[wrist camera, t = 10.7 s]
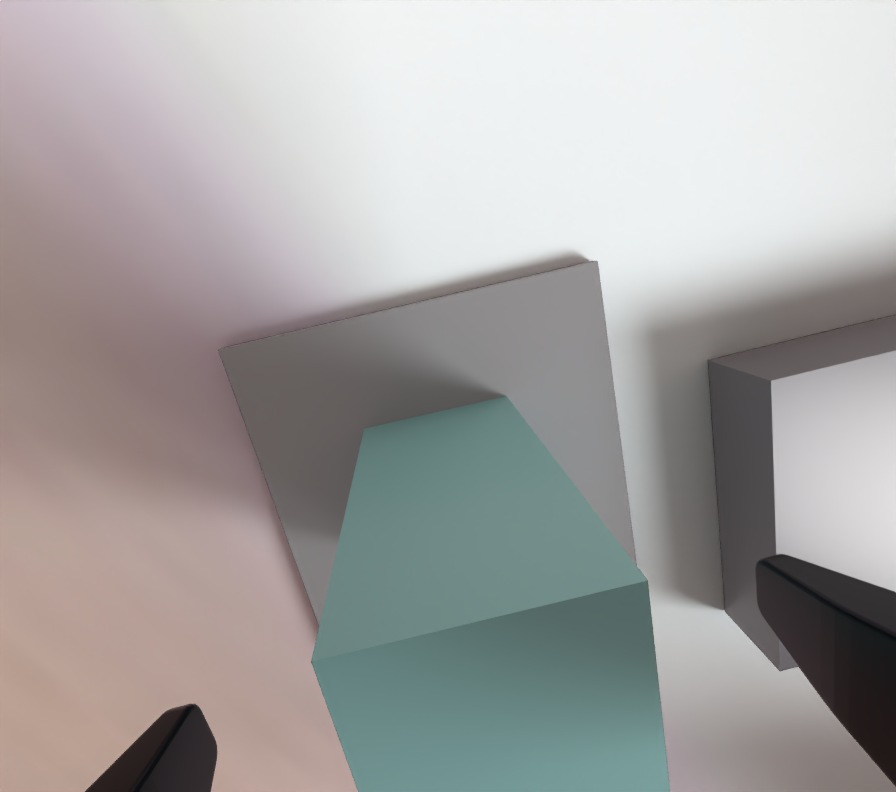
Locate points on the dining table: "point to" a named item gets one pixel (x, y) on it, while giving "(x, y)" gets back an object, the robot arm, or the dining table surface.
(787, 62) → the dining table surface
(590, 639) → the plug
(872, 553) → the grey slab with hole
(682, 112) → the dining table surface
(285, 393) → the mat
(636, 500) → the dining table surface
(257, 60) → the dining table surface
